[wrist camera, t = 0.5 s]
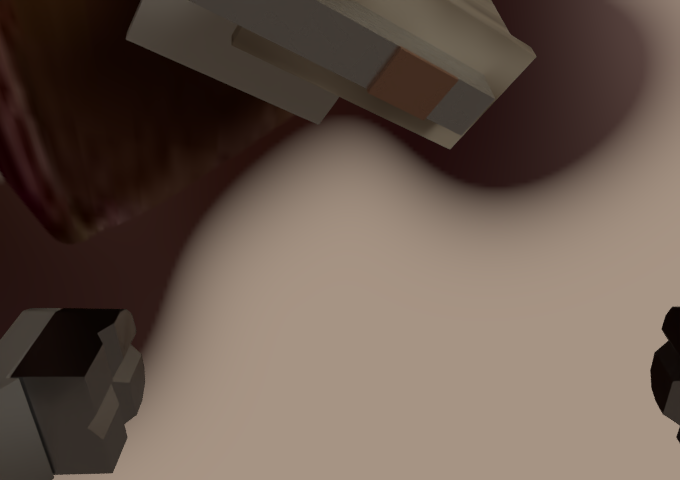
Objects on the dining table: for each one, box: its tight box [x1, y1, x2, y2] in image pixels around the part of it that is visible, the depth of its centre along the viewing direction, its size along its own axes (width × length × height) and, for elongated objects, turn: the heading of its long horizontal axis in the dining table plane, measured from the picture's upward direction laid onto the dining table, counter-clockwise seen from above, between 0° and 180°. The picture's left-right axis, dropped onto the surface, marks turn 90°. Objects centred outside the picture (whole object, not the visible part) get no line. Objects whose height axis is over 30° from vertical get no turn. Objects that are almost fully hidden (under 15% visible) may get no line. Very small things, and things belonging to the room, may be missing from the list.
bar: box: [189, 0, 495, 136], centre depth 33 cm, size 22×3×3 cm, turn 57°
